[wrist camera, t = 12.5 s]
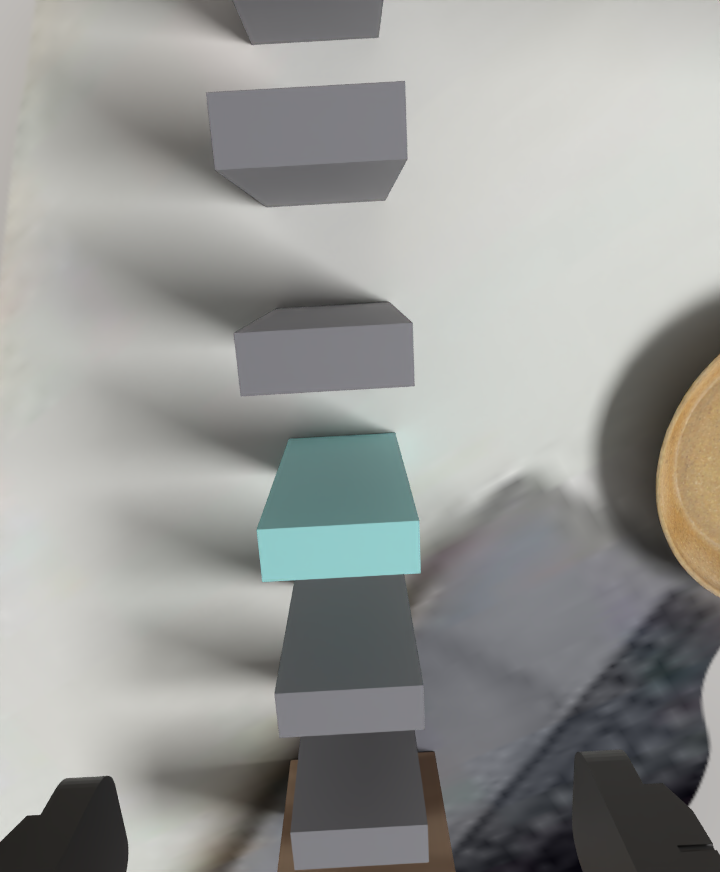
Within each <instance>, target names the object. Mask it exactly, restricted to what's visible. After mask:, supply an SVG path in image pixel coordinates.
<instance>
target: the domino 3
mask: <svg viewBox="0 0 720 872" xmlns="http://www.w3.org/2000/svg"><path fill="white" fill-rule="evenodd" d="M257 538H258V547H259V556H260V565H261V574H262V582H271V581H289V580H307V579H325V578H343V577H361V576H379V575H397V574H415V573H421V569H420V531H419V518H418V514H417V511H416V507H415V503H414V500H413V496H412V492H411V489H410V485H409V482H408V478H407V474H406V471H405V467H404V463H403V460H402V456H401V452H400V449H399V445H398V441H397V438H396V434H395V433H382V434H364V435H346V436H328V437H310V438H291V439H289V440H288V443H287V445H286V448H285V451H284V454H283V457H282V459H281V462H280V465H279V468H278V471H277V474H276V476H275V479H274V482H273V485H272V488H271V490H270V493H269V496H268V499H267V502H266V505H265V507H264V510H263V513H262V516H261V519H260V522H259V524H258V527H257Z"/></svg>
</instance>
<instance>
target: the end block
mask: <svg viewBox="0 0 720 872" xmlns="http://www.w3.org/2000/svg"><path fill="white" fill-rule="evenodd" d="M418 758H419V765H420V772H421V780H422V787H423V794H424V801H425V808H426V815H427V823H428V848H429V862H427V863H409V864H392V865H375V866H358V867H341V868H323V869H306V870H294V861H293V852H292V843H291V834H290V831H291V821H292V812H293V802H294V793H295V783H296V774H297V764H298V760H291V762H290V770H289V779H288V787H287V796H286V804H285V812H284V821H283V829H282V837H281V846H280V854H279V863H278V871H277V872H455V867H454V861H453V855H452V849H451V844H450V838H449V832H448V826H447V821H446V815H445V809H444V804H443V798H442V792H441V786H440V781H439V775H438V769H437V763H436V758H435V752H421V753H418Z"/></svg>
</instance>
